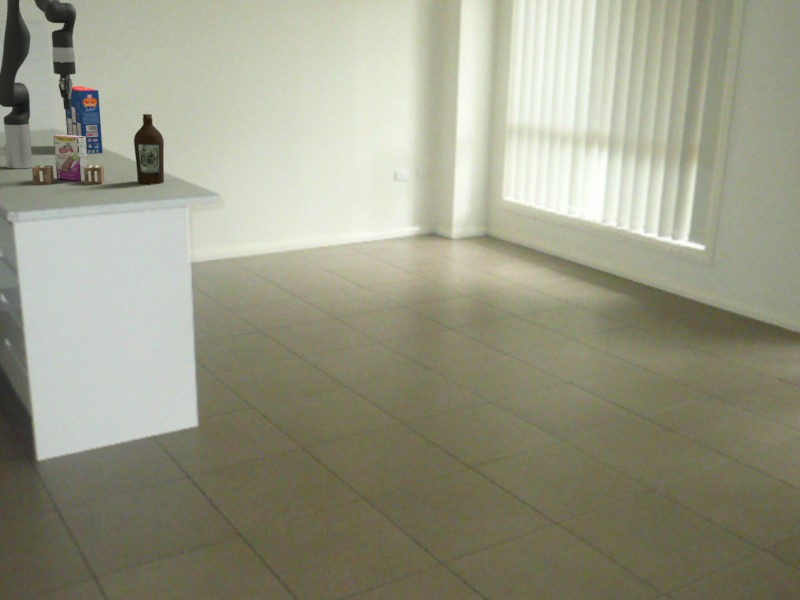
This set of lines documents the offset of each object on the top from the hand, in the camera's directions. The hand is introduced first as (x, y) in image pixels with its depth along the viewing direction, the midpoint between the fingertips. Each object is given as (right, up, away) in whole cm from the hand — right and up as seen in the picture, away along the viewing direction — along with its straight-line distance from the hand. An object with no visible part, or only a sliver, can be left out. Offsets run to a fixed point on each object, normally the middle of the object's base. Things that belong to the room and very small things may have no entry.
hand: (67, 109), depth 335 cm
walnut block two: (+9, -27, +2) cm, 28 cm away
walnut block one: (-9, -27, -1) cm, 29 cm away
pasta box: (-24, -1, +89) cm, 93 cm away
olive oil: (+29, -26, +6) cm, 40 cm away
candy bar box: (-1, -25, +8) cm, 26 cm away
